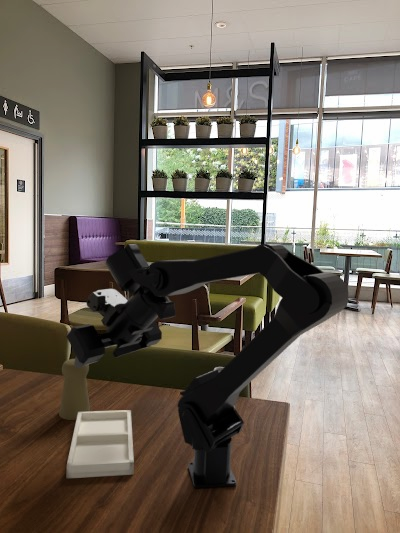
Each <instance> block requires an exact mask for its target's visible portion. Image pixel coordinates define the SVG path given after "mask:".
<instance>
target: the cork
mask: <svg viewBox="0 0 400 533" xmlns="http://www.w3.org/2000/svg"><path fill="white" fill-rule="evenodd" d="M74 362H75V358H71V359H67V360H65V361H64V362H63V364H62V366H61V373H62V376H63V377H64V378H63V385H62V392H61V400H60V406H59V407H60V408H59V413H58V416H59V417H60V419H64V420H69V421H76V420H77V415H78V412H90V411H91V408H90V401H89V392H88V383H87V375H88V374H89V370H90V366H89V365H90V364H88V365H86V366H83V367H80V368H76V367H75V365H74Z"/></svg>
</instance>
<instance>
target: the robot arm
mask: <svg viewBox="0 0 400 533" xmlns="http://www.w3.org/2000/svg"><path fill="white" fill-rule="evenodd" d="M105 265H106V268H107V269H108V270H109V272H110V274H111V276H112V278H113V279H114V281H115V282H116V285H117V286H118V288H119V289H120V291H121V292H129V293H130V294H132V293H133V294H132V295H131V296H130V297H129V299H127V298H126V297H125V296H124V295H123V294H121V293H120V292H119V291H118V290H117V289H115V288H105V289H98V290H96V291H92V292H91V293H90V295H88V297H87V300H86V306H87V308H88V309H90V310H91V311H92V312H93V313H98V314H100V315H101V316H102V319H101V320H100V321H101V323H102V325H103V326H104V327H106V329H105V330H106V333H100V334H99V333H98V331H97V329H96V328H95V325H93V324H90V323H88V324H87V323H86V324H81V325H75V326H73V327H71V329H70V330H69V331H68V332H67V334H66V339H67V340H68V343H69V345H70V348H72V350H73V353H74V354H75V358H74V359H75V362H74V365H75V367H76V368H80V367H83V366H86V365H90V364H93V363H97V362H99V361H100V359H102V358H103V356H104V355H105V354H106V351H105V350H106V349H107V348H110V347H111V348H112V347H115V346H116V347H115V348H114V350H113V352H112V355H113V357H114V358H119V357H121V356H125V355H127V354H131V353H134V352H137V351H139V350H140V351H141V350H143V349H146V348H150V347H151V346H154V345H157V344H158V343H159V342H160V341H161V340H162V336H163V335H162V334H163V332H162V330H161V329H160V327H159V325H158V323H157V322H156V320H157V319H159V320H166V319H170V318H174V317H176V316H177V310H176V308H175V304H176V303H175V301H171V300H170V298H169V296H175V295H176V296H177V295H182V294H183V295H184V294H187V293H189V292H192V291H194V290H197V289H200V288H201V287H202V286H204V285H206V284H209V283H211V282H218V281H223V280H228V279H229V280H230V279H233V278H241V277H245V276H251V275H257V274H259V275H261V276H263V277H264V278H265V280H266V282H268V284H269V285H270V287H271V289H272V290H273V291H274V292H275V293H276V294H277V295H278V296H280V298H281V299H280V301H279V303H278V306H277V308H276V310H275V312H274V313H275V314H274V315H273V317H272V319H271V320H270V321H268V323H267V324H266V325H265V326H264V327H262V329H261V330H260V331H259V332H258V333H257V334H255V336H254V337H253V338H251V340H250V341H249V342H248V343H247V344H246V345H245V346H244V347H243V348H242V349H241V350H240V351H239V352H238V353H236V355H235V356H234V357H233V358H231V360H230V361H228V363H227V364H226V365H225V366H224V368H223V369H222V370H221V371H220V372H218V370H217V369H216V370H214V369H213V370H211V371H209V372H206V373H204V374H201V375H199V376H197V377H196V376H195V378H194V379H192V380H191V382H190V383H189V385H188V387H187V388H186V389H185V390H182V391H180V392H179V395H181V397H180V398H179V400H178V401H177V405H176V407H177V412H178V418H179V422H180V427H181V431H182V435H183V440H184V443H186V444H188V445H189V446H191V447H192V448H191V449H192V450H193V461H190V462H188V463H187V467H188V470H189V473H190V477H191V482H192V485H193V487H194V488H195V489H204V488H219V487H232V486H233V487H234V486H237V480H236V477H235V475H234V472H233V470H232V468H231V458H232V457H231V456H232V440H233V439H232V438H233V437H234V436H235V435H237V434H240V433H241V432H242V429H243V426H244V424H245V422H244V420H243V418H242V417H241V415H240V414H239V412H238V411H237V409H236V407H235V408H234V406H235V405H236V403H237V401H238V399H239V396H240V393H241V392H242V391H243V390H244V389H245V387H247V385H249V384H250V383H251V382H252V381H253V380H254V379H255V378H256V377H257V376H259V374H260V373H262V372H263V371H264V370H265V369H266V368H267V367H268V366H269V365H271V363H272V362H273V361H274V360H276V359H277V358H278V357H279V356H281V354H282V353H283V352H284V351H285V350H286V349H287V348H288V347H289V346H291V345H292V343H294V342H295V341H296V340H297V339H298V338H300V336H301V335H303V334H305V333H307V332H309V331H310V330H312V329H313V328H315V327H318V326H319V325H321V324H322V323H324V322H326V321H327V320H329V319H331V318H332V317H334V316H336V315H338V314H339V313H341V312H342V311H343V310H345V308H346V307H347V306H348V303H349V299H350V298H349V288H348V286H347V284H346V283H345V281H344V279H342V277H340V276H338V274H335V273H332V272H324V271H323V270H321V269H320V268H319V267H318V266H316V265H315V264H312V263H310V262H309V261H307V260H305V259H303V258H302V257H300V256H298V255H296V254H294V252H292V251H290V250H288V248H286V247H285V246H284V245H283V244H281V243H261V244H258V245H257V246H254V247H251V248H246V249H240V250H237V251H233V252H228V253H223V254H219V255H214V256H209V257H205V258H200V259H169V260H155V261H153V262H151V263H150V264H149V263H148V262H147V261H146V259H145V257H144V256H143V254H142V252H141V249H140V248H139V246H138V245H137V244H136V243H133V244H127V245H125V247H124V248H120V249H119V250H117V251H115V252H114V253H112V254H110V255H109V256H107V259H106V260H105Z"/></svg>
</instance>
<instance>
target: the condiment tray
mask: <svg viewBox="0 0 400 533" xmlns="http://www.w3.org/2000/svg"><path fill="white" fill-rule="evenodd" d="M132 426H133V425H132V410H131V409H125V410H119V409H118V410H95V411H92V410H90V412H78V415H77V420H75V425H74V430H73V434H72V439H71V444H70V447H69V448H70V449H69V454H68V457H67V463H66V479H79V478H80V479H81V478H95V477H113V476H131V475H134V469H135V465H134V464H135V461H134V460H135V459H134V445H133V444H134V443H133V427H132Z"/></svg>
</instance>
